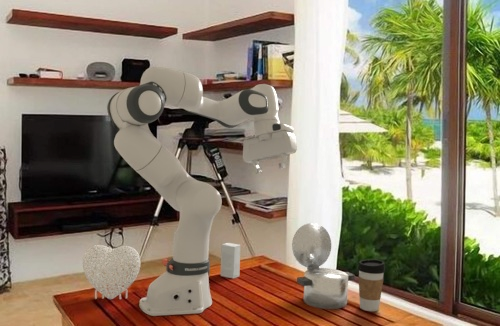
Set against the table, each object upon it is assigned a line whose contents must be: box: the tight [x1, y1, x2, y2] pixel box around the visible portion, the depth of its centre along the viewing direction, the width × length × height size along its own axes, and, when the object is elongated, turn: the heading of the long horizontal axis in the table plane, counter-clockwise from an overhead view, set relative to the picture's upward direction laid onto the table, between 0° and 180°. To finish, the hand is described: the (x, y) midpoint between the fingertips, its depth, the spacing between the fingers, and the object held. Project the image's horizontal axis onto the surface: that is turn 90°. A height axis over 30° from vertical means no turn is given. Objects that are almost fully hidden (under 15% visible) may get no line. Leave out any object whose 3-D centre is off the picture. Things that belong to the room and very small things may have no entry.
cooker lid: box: [291, 222, 332, 271], centre depth 174 cm, size 15×16×2 cm
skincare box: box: [220, 242, 241, 280], centre depth 189 cm, size 6×4×12 cm
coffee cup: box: [357, 259, 386, 312], centre depth 161 cm, size 8×8×15 cm
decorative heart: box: [82, 244, 142, 300], centre depth 161 cm, size 18×11×17 cm, turn 90°
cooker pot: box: [296, 267, 356, 310], centre depth 166 cm, size 20×14×9 cm
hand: (270, 171), depth 171 cm, fingers open, 8 cm apart
